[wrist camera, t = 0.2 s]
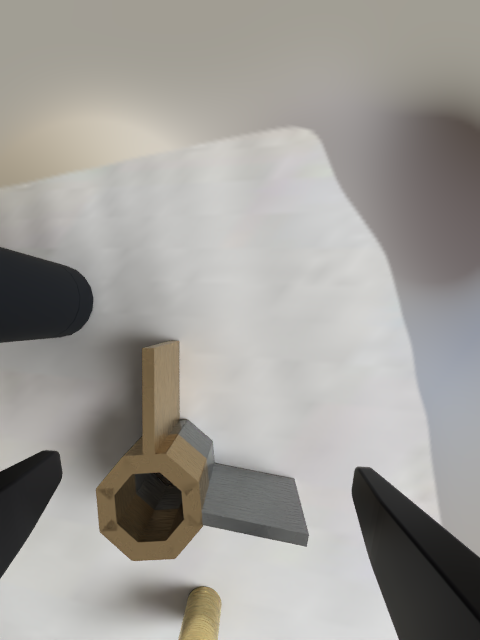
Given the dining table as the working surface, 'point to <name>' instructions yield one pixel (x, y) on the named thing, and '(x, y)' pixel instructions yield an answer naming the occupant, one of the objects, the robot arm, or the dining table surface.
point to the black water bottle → (40, 298)
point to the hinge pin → (201, 615)
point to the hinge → (186, 480)
